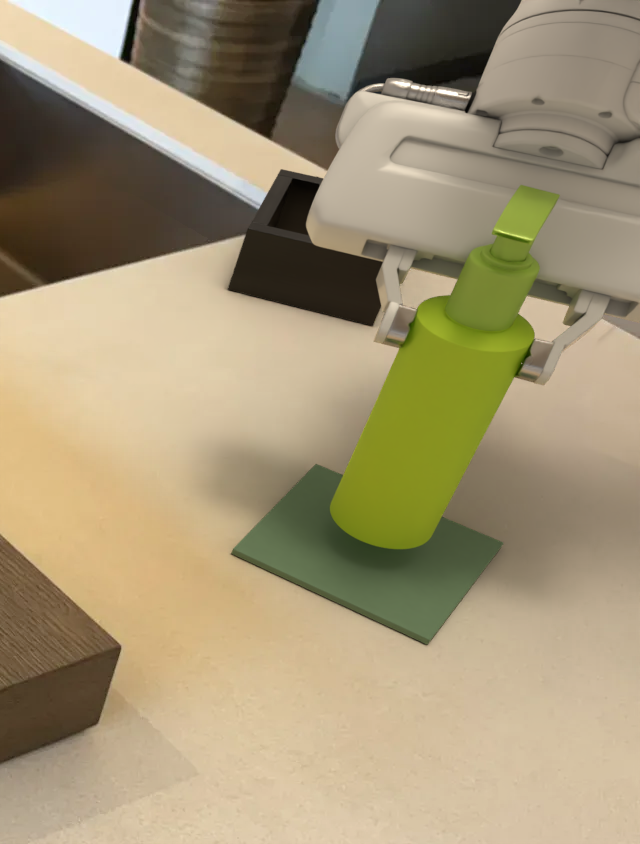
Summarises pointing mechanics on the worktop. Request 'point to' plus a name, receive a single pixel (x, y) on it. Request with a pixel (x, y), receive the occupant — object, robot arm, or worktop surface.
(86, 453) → the worktop surface
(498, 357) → the soap dispenser
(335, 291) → the box
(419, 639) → the mat
